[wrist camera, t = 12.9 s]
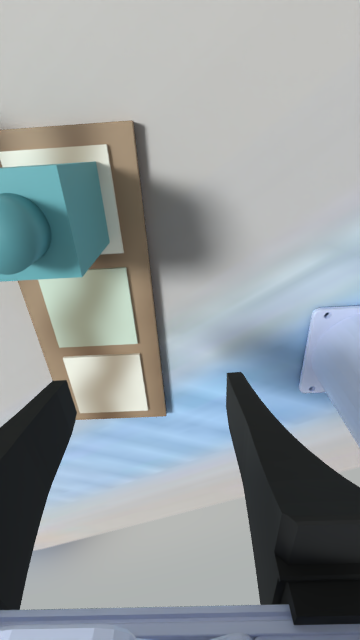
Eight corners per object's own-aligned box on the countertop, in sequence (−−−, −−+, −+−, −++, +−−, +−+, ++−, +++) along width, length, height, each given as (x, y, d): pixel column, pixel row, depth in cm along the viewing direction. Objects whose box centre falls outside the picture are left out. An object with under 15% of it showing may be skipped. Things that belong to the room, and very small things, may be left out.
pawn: (95, 161, 16) (38, 166, 10) (109, 242, 19) (70, 291, 12) (16, 166, 17) (-94, 175, 10) (39, 246, 19) (-38, 297, 12)
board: (133, 121, 16) (131, 120, 15) (166, 411, 27) (166, 417, 26) (-28, 133, 16) (-37, 132, 16) (68, 415, 27) (66, 422, 27)
